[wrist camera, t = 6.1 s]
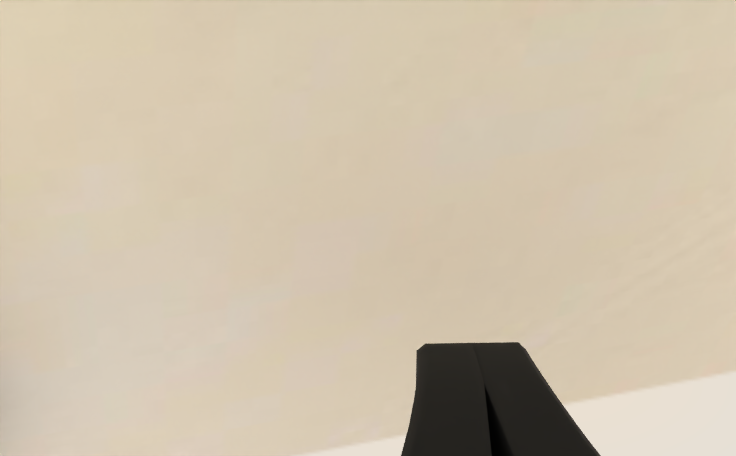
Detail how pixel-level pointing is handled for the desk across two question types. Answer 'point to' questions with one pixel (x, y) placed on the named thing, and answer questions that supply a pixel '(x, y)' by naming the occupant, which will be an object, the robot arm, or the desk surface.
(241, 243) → the desk surface
